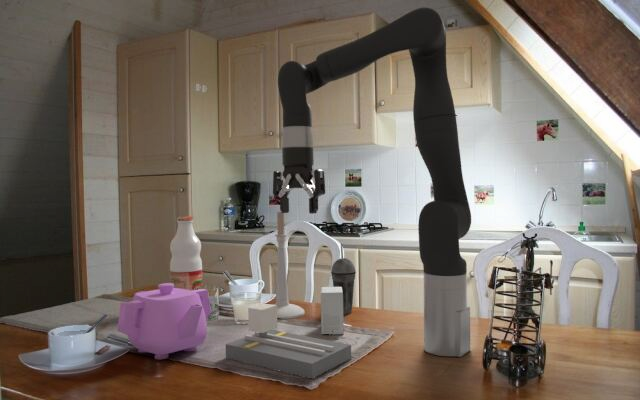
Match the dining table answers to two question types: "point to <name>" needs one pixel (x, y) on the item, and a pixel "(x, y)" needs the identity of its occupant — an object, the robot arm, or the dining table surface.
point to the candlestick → (283, 277)
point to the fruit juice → (185, 256)
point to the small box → (332, 310)
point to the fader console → (289, 352)
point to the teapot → (165, 320)
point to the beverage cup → (344, 280)
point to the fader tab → (262, 318)
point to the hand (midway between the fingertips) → (298, 213)
